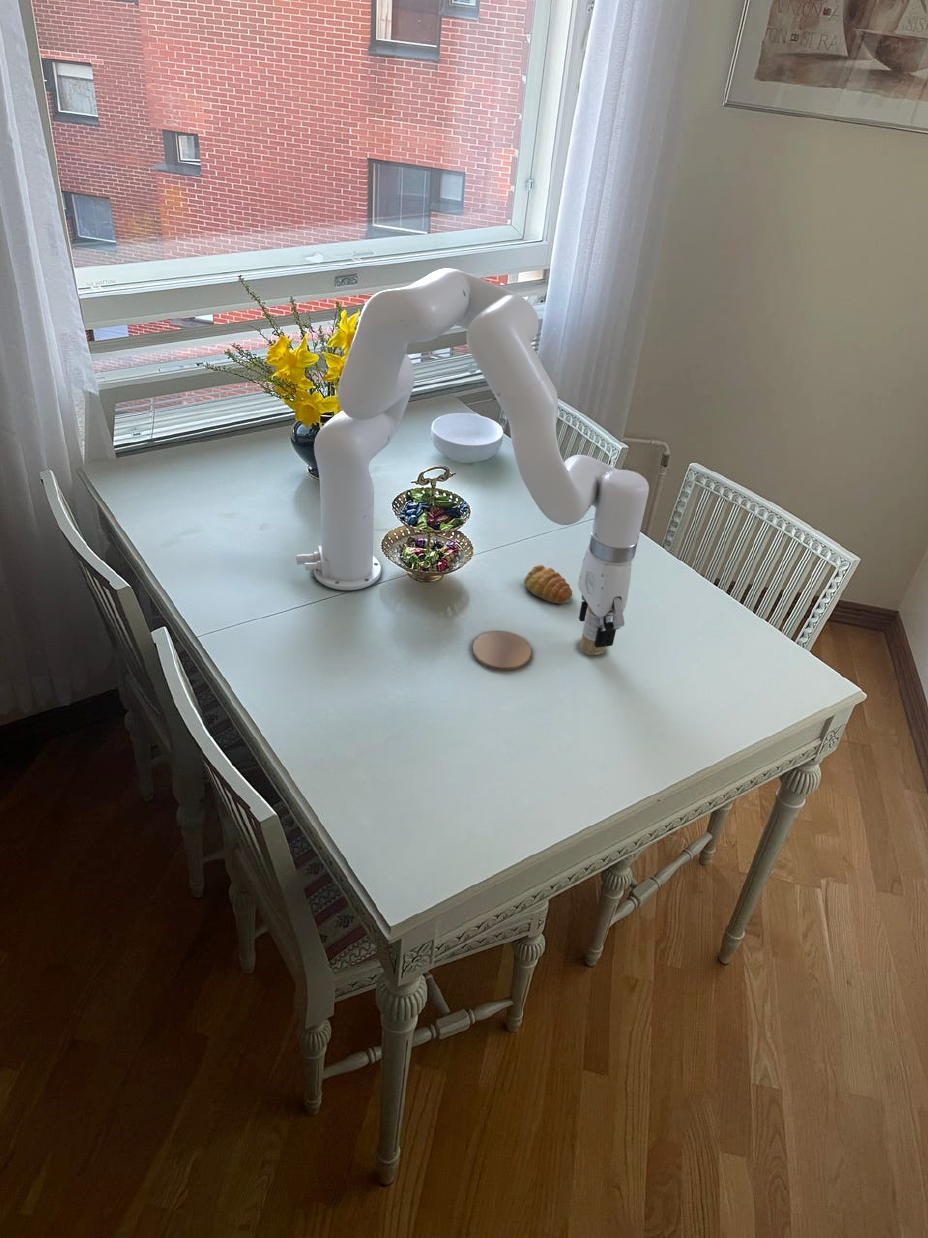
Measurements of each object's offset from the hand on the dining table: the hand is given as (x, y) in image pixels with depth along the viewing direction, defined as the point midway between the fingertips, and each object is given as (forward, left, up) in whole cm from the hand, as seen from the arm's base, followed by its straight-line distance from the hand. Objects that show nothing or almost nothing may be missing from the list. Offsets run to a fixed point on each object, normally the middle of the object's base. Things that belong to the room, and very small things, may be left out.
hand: (595, 631), depth 160 cm
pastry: (-2, +18, -4) cm, 19 cm away
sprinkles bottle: (0, 0, -4) cm, 4 cm away
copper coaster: (-16, +2, -4) cm, 17 cm away
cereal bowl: (-3, +73, -4) cm, 73 cm away
